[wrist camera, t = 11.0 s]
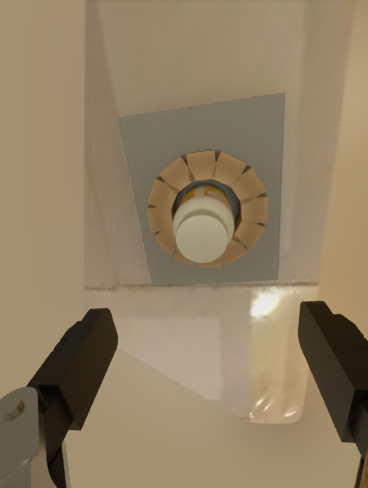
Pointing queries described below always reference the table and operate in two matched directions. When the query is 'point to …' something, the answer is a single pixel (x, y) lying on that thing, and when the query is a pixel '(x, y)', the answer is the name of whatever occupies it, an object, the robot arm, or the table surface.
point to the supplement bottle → (203, 223)
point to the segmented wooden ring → (221, 170)
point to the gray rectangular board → (205, 138)
